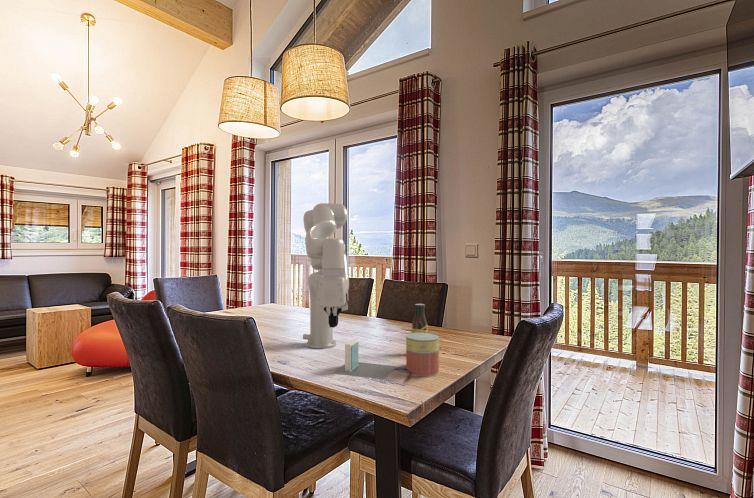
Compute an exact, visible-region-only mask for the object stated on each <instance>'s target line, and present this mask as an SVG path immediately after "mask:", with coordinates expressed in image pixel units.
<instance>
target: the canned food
mask: <svg viewBox="0 0 754 498" xmlns="http://www.w3.org/2000/svg"><path fill="white" fill-rule="evenodd" d="M405 337H406V343H405V345H406V351H405V355H406V357H405V360H406V362H405V364H406V366H405V368H406V370H407V371H409V373H408V374H409V375H411V376H415V377H426V378H427V377H433V376H437V375H438V374H439V373H440V370H439V369H440V368H439V367H440V365H439V364H440V360H439V359H440V355H439V354H440V336H439V335H438V334H435V333H430V332H428V333H421V332H420V333H412V332H411V333H407V334H406V335H405Z"/></svg>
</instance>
